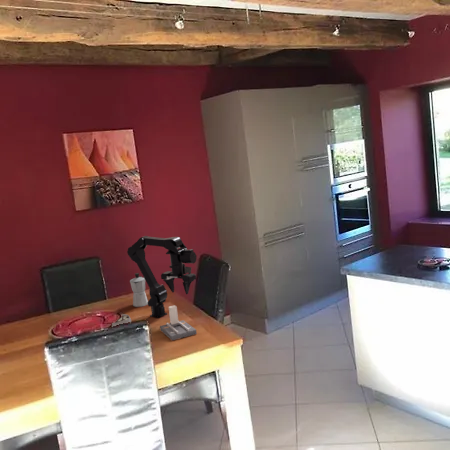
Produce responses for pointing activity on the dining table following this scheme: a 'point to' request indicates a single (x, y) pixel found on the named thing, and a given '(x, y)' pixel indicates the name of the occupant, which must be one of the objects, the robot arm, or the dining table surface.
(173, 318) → the fader
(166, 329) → the grey slider track base
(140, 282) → the coffee maker
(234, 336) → the dining table surface
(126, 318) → the food container
